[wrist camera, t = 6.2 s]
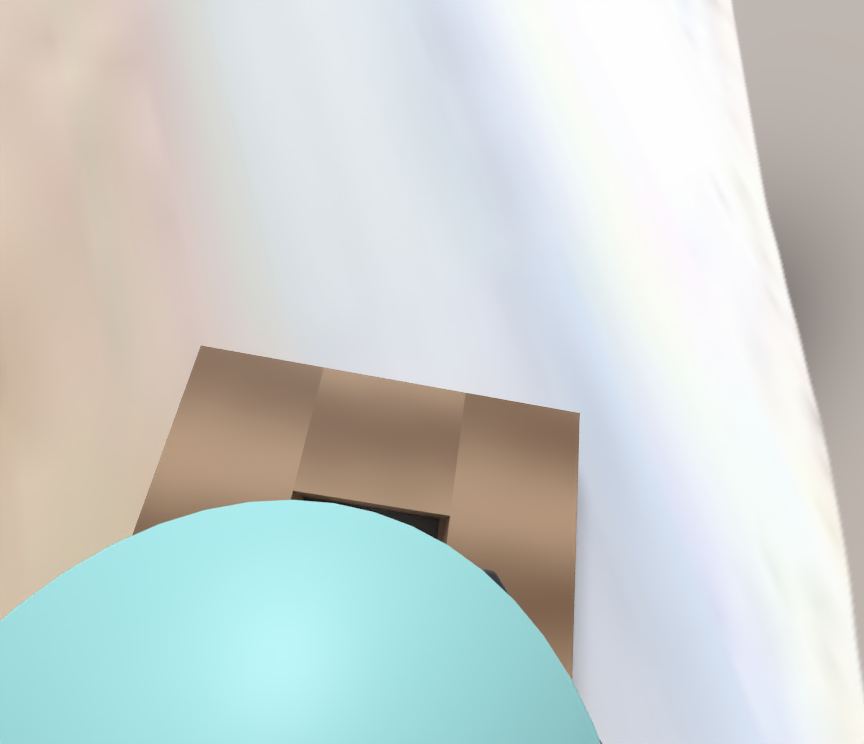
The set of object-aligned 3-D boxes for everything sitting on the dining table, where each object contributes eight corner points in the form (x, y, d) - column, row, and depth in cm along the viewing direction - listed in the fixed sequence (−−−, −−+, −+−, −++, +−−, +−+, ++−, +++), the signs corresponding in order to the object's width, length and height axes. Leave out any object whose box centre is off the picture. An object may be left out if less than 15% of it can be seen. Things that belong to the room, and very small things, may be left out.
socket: (532, 853, 16) (565, 919, 14) (79, 801, 15) (14, 861, 13) (553, 428, 22) (579, 413, 19) (223, 370, 21) (201, 345, 18)
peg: (419, 679, 13) (718, 1607, 2) (274, 684, 12) (-611, 1983, 1) (420, 530, 14) (592, 503, 3) (290, 529, 14) (-60, 495, 3)
